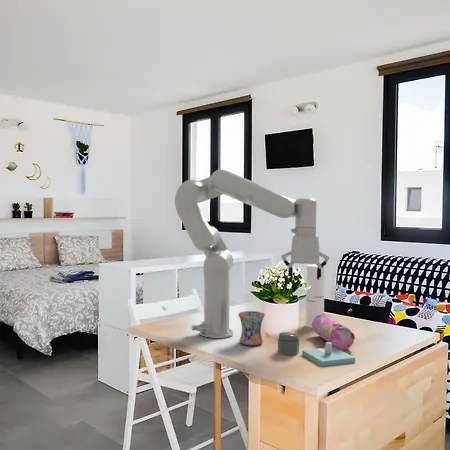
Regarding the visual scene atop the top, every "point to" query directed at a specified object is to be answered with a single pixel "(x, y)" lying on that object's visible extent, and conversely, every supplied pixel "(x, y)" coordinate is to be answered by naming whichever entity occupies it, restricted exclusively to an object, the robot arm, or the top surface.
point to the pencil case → (333, 332)
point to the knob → (288, 343)
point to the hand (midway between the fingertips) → (304, 278)
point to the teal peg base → (328, 355)
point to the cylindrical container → (314, 294)
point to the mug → (251, 327)
